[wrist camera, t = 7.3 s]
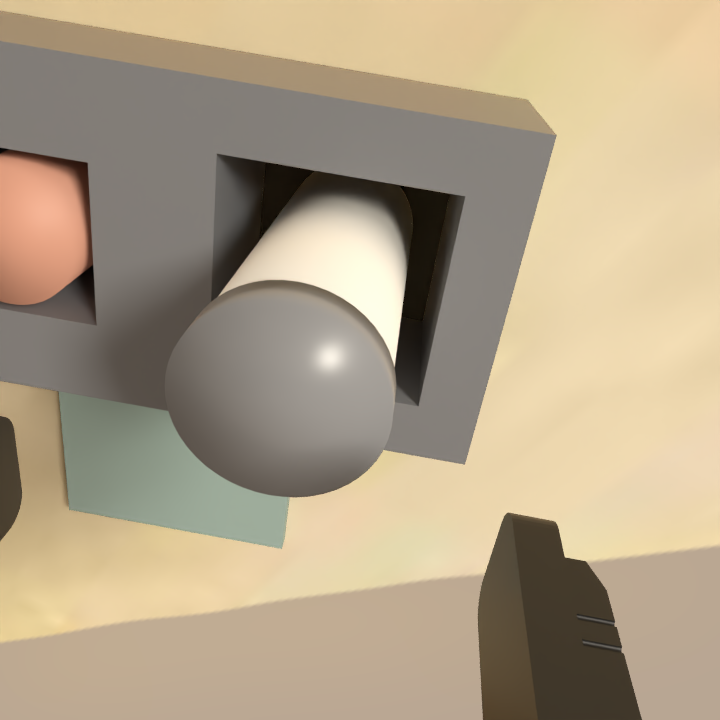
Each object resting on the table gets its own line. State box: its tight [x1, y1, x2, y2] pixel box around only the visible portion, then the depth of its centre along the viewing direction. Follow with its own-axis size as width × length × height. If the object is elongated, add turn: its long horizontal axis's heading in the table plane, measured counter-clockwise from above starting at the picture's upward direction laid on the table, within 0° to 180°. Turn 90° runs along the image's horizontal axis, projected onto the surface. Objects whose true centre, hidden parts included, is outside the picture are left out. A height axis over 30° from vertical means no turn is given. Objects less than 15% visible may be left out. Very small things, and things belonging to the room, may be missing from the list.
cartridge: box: [165, 171, 413, 497], centre depth 19 cm, size 5×5×12 cm
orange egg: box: [0, 149, 93, 305], centre depth 21 cm, size 4×4×6 cm
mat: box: [59, 391, 289, 549], centre depth 29 cm, size 10×9×1 cm
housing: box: [0, 11, 556, 464], centre depth 21 cm, size 18×10×6 cm, turn 82°
